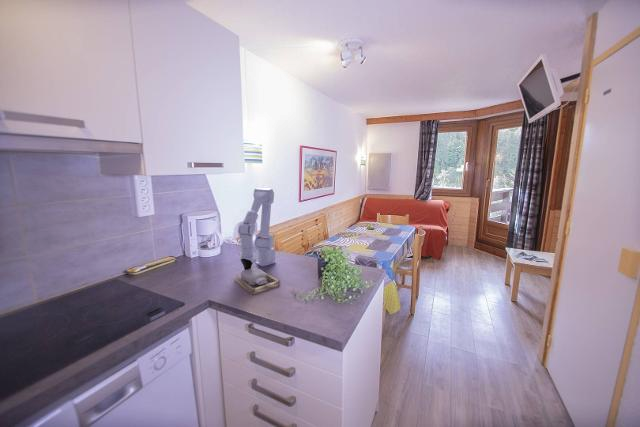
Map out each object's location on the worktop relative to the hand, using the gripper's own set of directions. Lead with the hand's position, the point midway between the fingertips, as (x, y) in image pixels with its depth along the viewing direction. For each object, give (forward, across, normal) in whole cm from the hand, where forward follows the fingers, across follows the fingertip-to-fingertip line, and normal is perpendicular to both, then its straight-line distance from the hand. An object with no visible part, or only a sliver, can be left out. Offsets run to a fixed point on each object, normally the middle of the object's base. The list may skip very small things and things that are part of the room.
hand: (247, 272), depth 133 cm
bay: (+2, +9, 0) cm, 9 cm away
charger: (+3, +9, 0) cm, 9 cm away
